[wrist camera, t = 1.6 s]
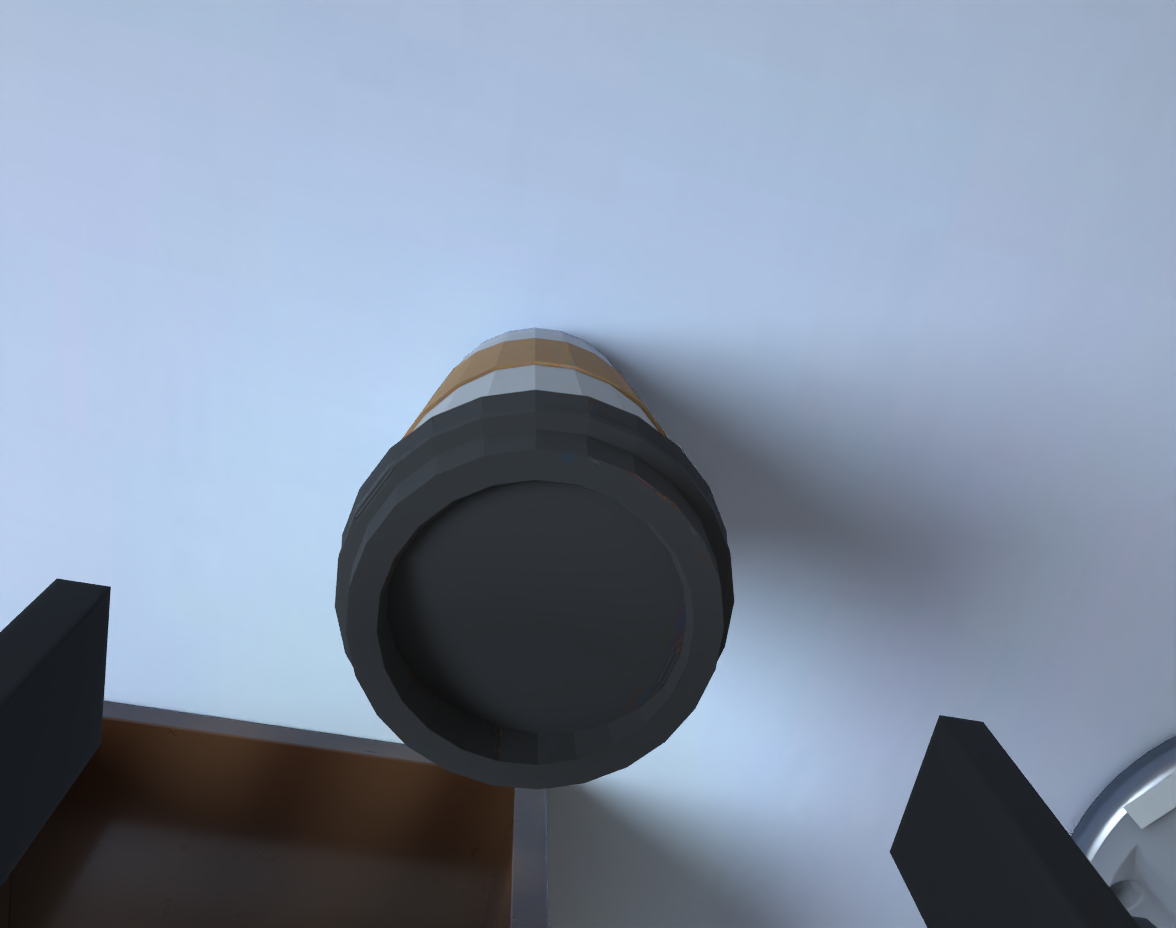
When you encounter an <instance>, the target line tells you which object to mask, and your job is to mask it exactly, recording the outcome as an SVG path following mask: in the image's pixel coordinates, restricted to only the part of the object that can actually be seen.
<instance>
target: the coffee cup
mask: <svg viewBox="0 0 1176 928" xmlns="http://www.w3.org/2000/svg"><path fill="white" fill-rule="evenodd" d="M733 605H734V593H733V580H732V568H731V556H730V550H729V547H728V544H727V535H726V529H725V526H724V524H723V521H722V519H721V516H720V513H719V511H718V508H717V506H716V503H715V501H714V498H713V495H712V493H711V490H710V488H709V486H708V484H707V483H706V482H705V480H704V479H703V478H702V476H701V475H700V474H699V472H698V471H697V470H696V469H695V467H694V466H693V465H692V463H691V462H690V461H689V459H688V458H687V457H686V455H685V454H684V453H683V451H682V450H681V449H680V447H679V446H677V445H676V444H675V443H673V442H672V441H671V440H669V439H668V438H667V437H666V435H665V433H664V432H663V430H662V429H661V428H660V426H659V425H658V423H657V422H656V421H655V419H654V418H653V417H652V415H651V414H650V412H649V411H648V410H647V408H646V407H645V406H644V404H643V403H642V401H641V400H640V399H639V397H638V396H637V395H636V393H635V392H634V391H633V389H632V388H631V387H630V385H629V384H628V383H627V381H626V380H625V379H624V378H623V376H622V375H621V374H620V372H619V371H617V370H616V369H615V368H614V367H613V366H612V365H611V364H610V362H609V361H608V360H607V358H606V357H605V356H604V355H602V354H601V353H600V352H599V351H597V350H596V349H595V348H593V347H592V346H591V345H589V344H588V343H587V342H585V341H584V340H581V339H579V338H576V337H574V336H571V335H569V334H567V333H564V332H562V331H555V330H548V329H540V328H530V329H522V330H515V331H508V332H506V333H504V334H501V335H499V336H496V337H494V338H491V339H489V340H487V341H485V342H483V343H482V344H481V345H479V346H478V347H477V348H476V349H474V350H473V351H472V352H471V353H469V354H468V355H467V356H465V357H464V359H463V360H462V361H461V363H460V364H459V365H458V366H456V367H455V368H454V369H453V370H452V371H451V373H450V374H449V375H448V377H447V378H446V379H445V381H444V382H443V383H442V384H441V386H440V387H439V388H438V390H437V391H436V393H435V394H434V395H433V397H432V398H431V399H430V401H429V402H428V404H427V405H426V406H425V408H424V409H423V411H422V412H421V413H420V415H419V416H418V417H417V419H416V420H415V422H414V423H413V424H412V426H411V427H410V429H409V430H408V431H407V433H406V434H405V435H404V437H403V438H402V440H401V441H399V442H398V443H397V444H395V445H394V446H393V447H391V448H390V449H389V451H388V452H387V453H386V455H385V456H384V457H383V459H382V460H381V461H380V463H379V464H378V465H377V467H376V468H375V469H374V471H373V472H372V473H371V475H370V476H369V477H368V479H367V480H366V481H365V483H364V484H363V485H362V487H361V488H360V489H359V492H358V495H357V497H356V500H355V503H354V505H353V508H352V511H351V513H350V516H349V519H348V521H347V524H346V527H345V529H344V532H343V534H342V548H341V551H340V553H339V558H338V571H337V585H336V599H335V609H336V613H337V618H338V622H339V627H340V631H341V636H342V640H343V645H344V649H345V653H346V655H347V657H348V659H349V660H350V662H351V664H352V666H353V668H354V672H355V676H356V678H357V680H358V681H359V683H360V685H361V687H362V689H363V690H364V692H365V694H366V696H367V698H368V700H369V701H370V703H371V705H372V707H373V709H374V710H375V712H376V714H377V715H378V716H379V718H380V719H381V720H382V721H383V722H384V723H385V724H386V725H387V726H388V727H389V728H390V729H391V730H392V731H393V732H394V733H395V734H396V735H397V736H398V737H399V738H400V739H401V740H402V741H403V742H404V743H405V744H406V745H407V746H408V747H409V748H410V749H412V750H414V751H415V752H417V753H419V754H420V755H422V756H424V757H425V758H427V759H428V760H430V761H432V762H433V763H435V764H437V765H438V766H440V767H442V768H443V769H445V770H446V771H449V772H452V773H455V774H458V775H461V776H464V777H467V778H470V779H473V780H476V781H480V782H483V783H486V784H489V785H493V786H504V787H516V788H527V789H545V788H552V787H560V786H567V785H574V784H582V783H586V782H589V781H591V780H594V779H597V778H599V777H602V776H605V775H607V774H610V773H613V772H615V771H618V770H621V769H623V768H626V767H628V766H630V765H631V764H633V763H634V762H636V761H637V760H639V759H640V758H642V757H643V756H645V755H646V754H648V753H649V752H651V751H652V750H653V749H655V748H656V747H658V746H659V745H661V744H662V743H664V742H665V741H666V740H667V739H668V738H669V737H670V736H671V735H672V734H673V732H674V731H675V730H676V729H677V728H678V727H679V726H680V725H681V724H682V723H683V721H684V720H685V719H686V718H687V717H688V716H689V715H690V714H691V713H692V712H693V710H694V709H695V708H696V706H697V704H698V702H699V700H700V698H701V696H702V694H703V693H704V691H705V689H706V687H707V685H708V683H709V681H710V679H711V677H712V675H713V673H714V671H715V669H716V664H717V661H718V659H719V657H720V655H721V653H722V651H723V649H724V647H725V643H726V639H727V634H728V629H729V624H730V619H731V614H732V609H733Z"/></svg>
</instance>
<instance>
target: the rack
mask: <svg viewBox="0 0 1176 928" xmlns="http://www.w3.org/2000/svg"><path fill="white" fill-rule="evenodd" d="M0 928H549V910H548V853H547V797H546V788H545V789H527V788H516V787H504V786H493V785H489V784H486V783H483V782H480V781H476V780H473V779H470V778H467V777H464V776H461V775H458V774H455V773H452V772H449V771H446V770H445V769H443V768H442V767H440V766H438V765H437V764H435V763H433V762H432V761H430V760H428V759H427V758H425V757H424V756H422V755H420V754H419V753H417V752H415V751H414V750H412V749H410V748H409V747H408V746H407V745H403V744H396V743H389V742H382V741H375V740H368V739H361V738H354V737H347V736H341V735H334V734H327V733H320V732H313V731H306V730H299V729H292V728H285V727H278V726H272V725H265V724H258V723H251V722H244V721H237V720H230V719H223V718H216V717H209V716H203V715H196V714H189V713H182V712H175V711H168V710H161V709H154V708H147V707H140V706H134V705H127V704H120V703H113V702H106V701H103V717H102V733H101V745H100V746H99V747H98V749H97V750H96V752H95V753H94V755H93V756H92V757H91V759H90V760H89V762H88V763H87V765H86V766H85V767H84V769H83V770H82V772H81V773H80V775H79V776H78V777H77V779H76V780H75V782H74V783H73V785H72V786H71V787H70V789H69V790H68V792H67V793H66V795H65V796H64V798H63V799H62V800H61V802H60V803H59V805H58V806H57V808H56V809H55V810H54V812H53V813H52V815H51V816H50V818H49V819H48V820H47V822H46V823H45V825H44V826H43V828H42V829H41V830H40V832H39V833H38V835H37V836H36V838H35V839H34V840H33V842H32V843H31V845H30V846H29V848H28V849H27V851H26V852H25V853H24V855H23V856H22V858H21V859H20V861H19V862H18V863H17V865H16V866H15V868H14V869H13V871H12V872H11V873H10V875H9V876H8V878H7V879H6V881H5V882H4V883H3V885H2V886H1V888H0Z"/></svg>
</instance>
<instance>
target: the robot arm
mask: <svg viewBox="0 0 1176 928" xmlns="http://www.w3.org/2000/svg"><path fill="white" fill-rule="evenodd" d="M110 589H111V587H108V586H101V585H95V584H89V583H82V582H76V581H69V580H63V579H56V580H55V581H54V582H53V583H52V584H51V585H50V586H49V587H48V588H46V589H45V590H44V591H43V592H42V593H41V594H40V595H39V596H38V597H37V598H36V599H35V600H34V601H33V602H32V603H31V604H30V605H29V606H27V607H26V608H25V609H24V610H23V611H22V612H21V613H20V614H19V615H18V616H17V617H16V618H15V619H14V620H13V621H12V622H11V623H10V624H9V625H7V626H6V627H5V628H4V629H3V630H2V631H1V632H0V888H1V886H2V885H3V883H4V882H5V881H6V879H7V878H8V876H9V875H10V873H11V872H12V871H13V869H14V868H15V866H16V865H17V863H18V862H19V861H20V859H21V858H22V856H23V855H24V853H25V852H26V851H27V849H28V848H29V846H30V845H31V843H32V842H33V840H34V839H35V838H36V836H37V835H38V833H39V832H40V830H41V829H42V828H43V826H44V825H45V823H46V822H47V820H48V819H49V818H50V816H51V815H52V813H53V812H54V810H55V809H56V808H57V806H58V805H59V803H60V802H61V800H62V799H63V798H64V796H65V795H66V793H67V792H68V790H69V789H70V787H71V786H72V785H73V783H74V782H75V780H76V779H77V777H78V776H79V775H80V773H81V772H82V770H83V769H84V767H85V766H86V765H87V763H88V762H89V760H90V759H91V757H92V756H93V755H94V753H95V752H96V750H97V749H98V747H99V746H100V745H101V733H102V717H103V701H104V685H105V669H106V653H107V637H108V621H109V605H110ZM890 853H891V855H892V857H893V859H894V861H895V863H896V865H897V867H898V869H899V871H900V873H901V875H902V877H903V879H904V881H905V883H906V885H907V887H908V889H909V891H910V893H911V895H912V897H913V899H914V901H915V903H916V906H917V908H918V910H919V912H920V914H921V916H922V918H923V920H924V922H925V924H926V926H927V928H1176V737H1174V738H1172V739H1170V740H1168V741H1166V742H1164V743H1163V744H1161V745H1159V746H1158V747H1156V748H1154V749H1153V750H1151V751H1150V752H1148V753H1147V754H1145V755H1144V756H1142V757H1141V758H1140V759H1138V760H1137V761H1135V762H1134V763H1133V764H1132V765H1130V766H1129V767H1128V768H1127V769H1125V770H1124V771H1123V772H1122V773H1121V774H1119V775H1118V776H1117V777H1116V778H1115V779H1114V780H1113V781H1112V782H1111V783H1110V784H1109V785H1108V786H1107V787H1106V788H1105V789H1104V790H1103V791H1102V793H1101V794H1100V795H1099V796H1098V797H1097V798H1096V799H1095V801H1094V802H1093V803H1092V804H1091V806H1090V807H1089V809H1088V810H1087V811H1086V813H1085V814H1084V815H1083V817H1082V818H1081V820H1080V822H1079V823H1078V825H1077V827H1076V828H1075V830H1074V832H1073V834H1072V836H1070V835H1069V834H1068V832H1067V831H1066V830H1065V829H1064V827H1063V826H1062V825H1061V823H1060V822H1059V821H1058V819H1057V818H1056V817H1055V815H1054V814H1053V813H1052V811H1051V810H1050V809H1049V808H1048V806H1047V805H1046V804H1045V802H1044V801H1043V800H1042V798H1041V797H1040V796H1039V794H1038V793H1037V792H1036V791H1035V789H1034V788H1033V787H1032V785H1031V784H1030V783H1029V781H1028V780H1027V779H1026V777H1025V776H1024V775H1023V774H1022V772H1021V771H1020V770H1019V768H1018V767H1017V766H1016V764H1015V763H1014V762H1013V760H1012V759H1011V758H1010V757H1009V755H1008V754H1007V753H1006V751H1005V750H1004V749H1003V747H1002V746H1001V745H1000V743H999V742H998V741H997V740H996V738H995V737H994V736H993V734H992V733H991V732H990V730H989V729H988V728H987V726H986V725H985V724H984V722H980V721H974V720H967V719H961V718H954V717H948V716H941V715H939V718H938V721H937V724H936V726H935V729H934V732H933V735H932V737H931V740H930V743H929V746H928V748H927V751H926V754H925V757H924V759H923V762H922V765H921V768H920V770H919V773H918V776H917V779H916V781H915V784H914V787H913V790H912V792H911V795H910V798H909V801H908V803H907V806H906V809H905V812H904V814H903V817H902V820H901V823H900V825H899V828H898V831H897V834H896V836H895V839H894V842H893V845H892V847H891V850H890Z"/></svg>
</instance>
